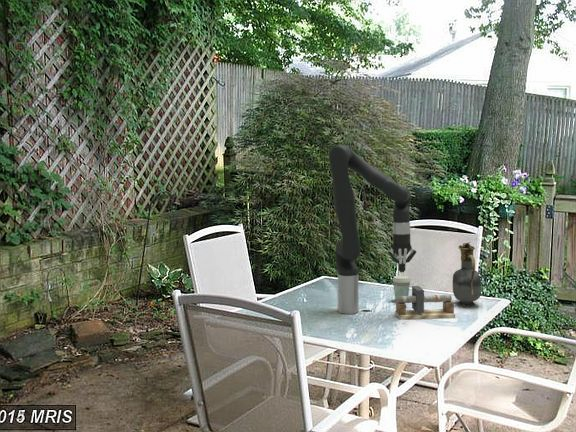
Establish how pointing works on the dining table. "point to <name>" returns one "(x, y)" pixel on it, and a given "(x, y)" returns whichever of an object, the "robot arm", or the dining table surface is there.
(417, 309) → the collar
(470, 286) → the dark grey bottle
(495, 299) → the dining table surface
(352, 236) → the robot arm
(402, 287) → the coffee cup
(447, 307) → the pipe rig
